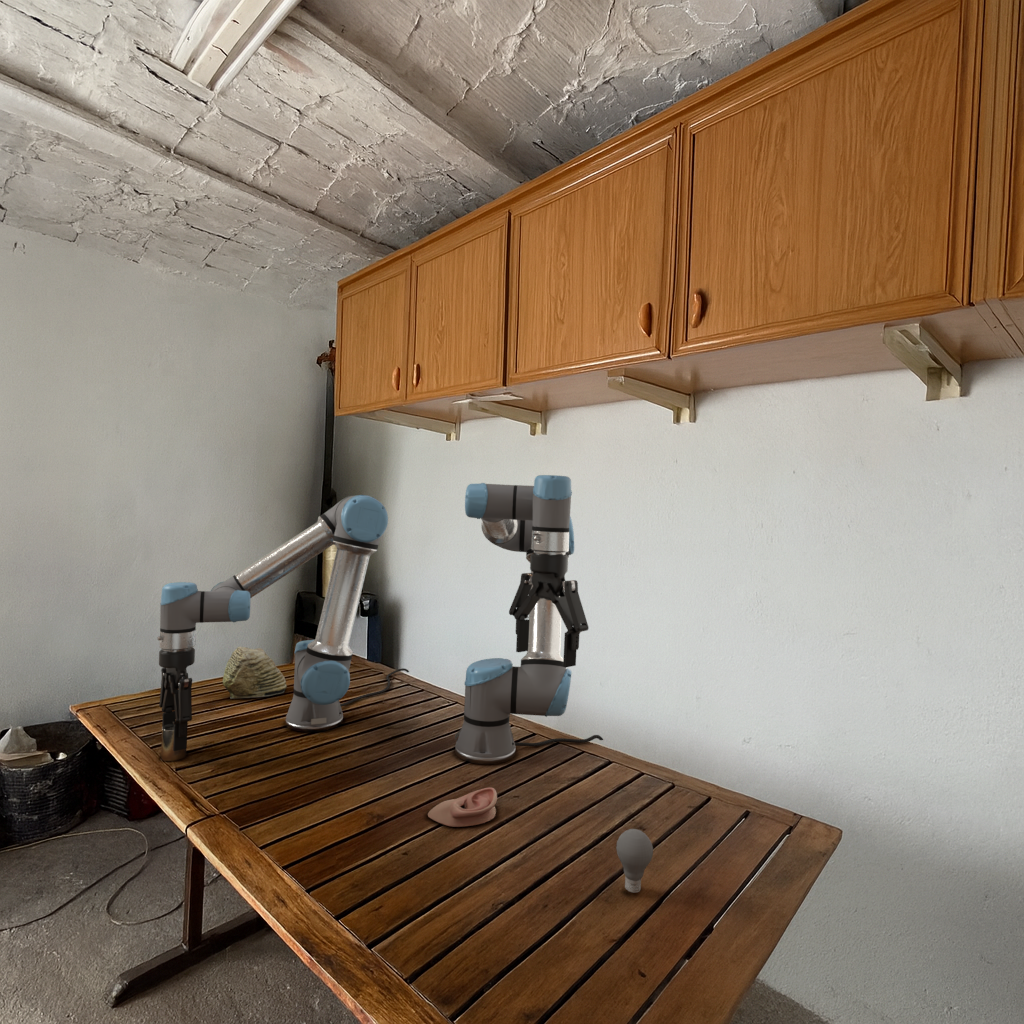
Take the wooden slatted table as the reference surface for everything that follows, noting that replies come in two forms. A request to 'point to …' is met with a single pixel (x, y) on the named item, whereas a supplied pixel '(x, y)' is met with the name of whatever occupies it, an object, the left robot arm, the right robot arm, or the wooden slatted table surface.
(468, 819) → the anatomical model
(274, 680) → the fossil
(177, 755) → the canister
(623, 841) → the light bulb
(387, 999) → the wooden slatted table surface
